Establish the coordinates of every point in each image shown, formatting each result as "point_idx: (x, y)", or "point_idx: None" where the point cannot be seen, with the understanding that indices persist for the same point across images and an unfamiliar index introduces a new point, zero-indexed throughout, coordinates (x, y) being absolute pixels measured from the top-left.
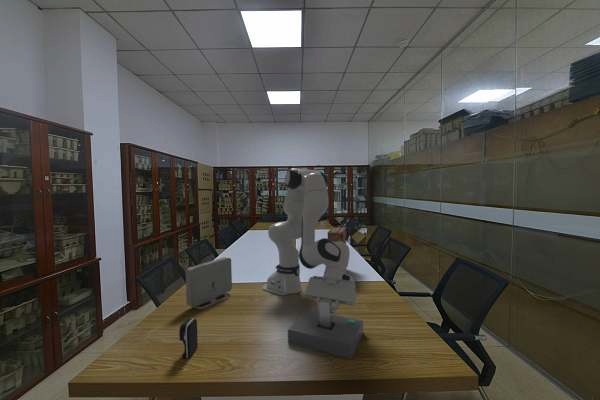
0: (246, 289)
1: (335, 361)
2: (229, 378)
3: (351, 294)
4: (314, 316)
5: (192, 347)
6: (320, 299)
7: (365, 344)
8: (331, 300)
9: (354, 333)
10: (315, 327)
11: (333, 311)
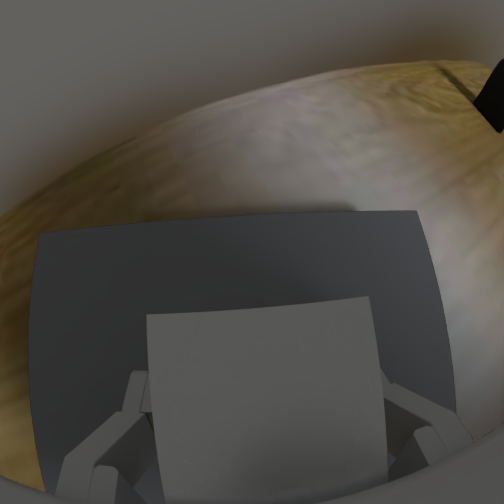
0: None
1: (128, 217)
2: (369, 70)
3: None
4: None
5: (488, 102)
6: (412, 465)
7: None
8: (171, 475)
9: (37, 353)
10: None
11: (136, 371)
